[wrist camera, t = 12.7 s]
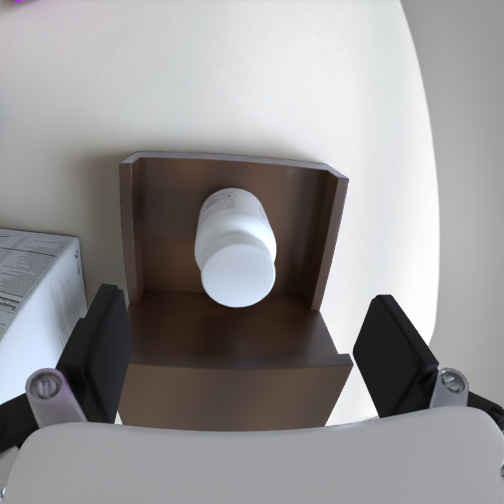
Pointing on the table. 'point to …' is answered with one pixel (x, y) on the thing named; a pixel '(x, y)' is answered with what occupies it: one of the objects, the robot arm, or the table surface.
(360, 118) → the table surface
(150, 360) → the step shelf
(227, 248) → the pill bottle
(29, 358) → the supplement box
